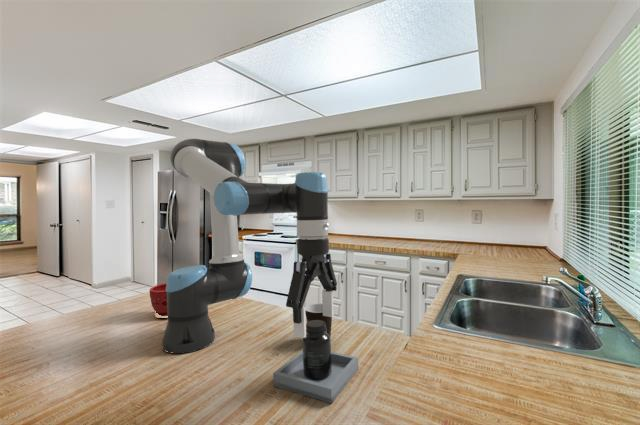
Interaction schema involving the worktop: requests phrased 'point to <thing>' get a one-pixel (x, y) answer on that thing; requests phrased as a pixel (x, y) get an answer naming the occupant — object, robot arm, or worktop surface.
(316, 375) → the supplement bottle
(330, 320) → the coffee mug
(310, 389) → the slate tray
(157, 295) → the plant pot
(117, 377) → the worktop surface
